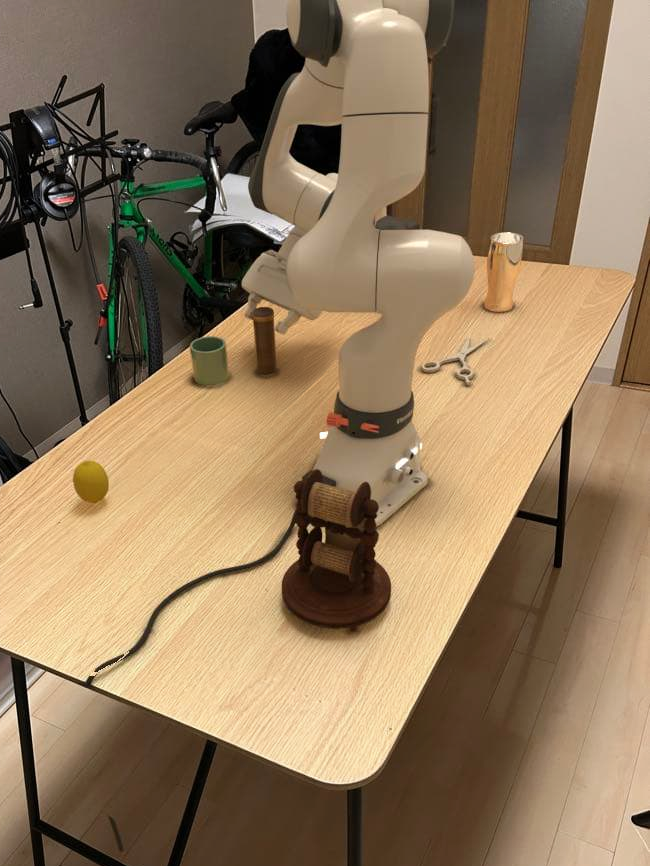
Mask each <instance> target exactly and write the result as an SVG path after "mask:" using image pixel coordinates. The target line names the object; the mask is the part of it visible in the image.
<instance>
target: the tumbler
mask: <svg viewBox="0 0 650 866" xmlns="http://www.w3.org/2000/svg"><path fill="white" fill-rule="evenodd" d="M189 353H190V360H191V361H190V362H191V370H192V376H193V377H192V378H193V380H194V381H195V382H196V383H197V384H200V385H203V386H214V385H219V384H222V383H224V382H225V381H226V380H228V378H229V376H230V371H229V358H228V349H227V342H226V339H224V338H222V337H221V336H216V335H215V336H214V335H213V336H201V337H199V338H196V339H194V340H193V341H191V343H190V344H189Z"/></svg>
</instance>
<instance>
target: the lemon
mask: <svg viewBox="0 0 650 866" xmlns="http://www.w3.org/2000/svg"><path fill="white" fill-rule="evenodd" d="M72 482H73V488H74V490H75V493H76V495H77V496H78V497H79V499H81V500H82V501H84V502H87V503H94V504H96V503H98V502H100V501H102V500H103V499H104V498H105V497H106V496H107V494H108V491H109V487H110V486H109V484H110V483H109V482H110V481H109V476H108V474H107V472H106V470H105V468H104V466H102V465H101V464H100V463H98V461H94V460H84V461H81V462H80V463H79V464H78V465H76V467H75V468H74V471H73V475H72Z"/></svg>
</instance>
